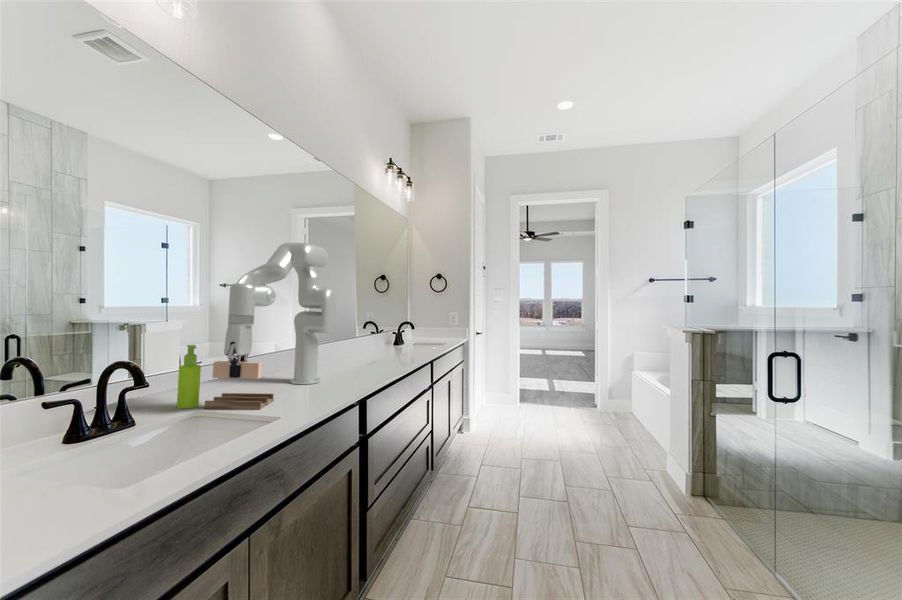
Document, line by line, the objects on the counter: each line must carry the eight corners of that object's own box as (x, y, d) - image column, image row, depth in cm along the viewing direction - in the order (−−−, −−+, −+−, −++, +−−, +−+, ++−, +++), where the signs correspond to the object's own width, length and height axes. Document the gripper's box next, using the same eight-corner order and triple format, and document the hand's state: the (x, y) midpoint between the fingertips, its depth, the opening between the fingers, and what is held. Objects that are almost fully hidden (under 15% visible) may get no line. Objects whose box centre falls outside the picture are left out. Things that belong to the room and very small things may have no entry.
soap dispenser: (178, 410, 119) (181, 346, 120) (175, 405, 125) (179, 344, 125) (200, 407, 123) (203, 345, 124) (197, 403, 128) (200, 343, 129)
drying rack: (222, 400, 134) (223, 393, 134) (273, 400, 135) (273, 393, 135) (204, 409, 122) (204, 401, 122) (260, 409, 123) (260, 401, 123)
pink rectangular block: (217, 376, 127) (218, 360, 127) (261, 376, 128) (262, 362, 128) (212, 377, 123) (213, 362, 123) (257, 378, 125) (258, 363, 125)
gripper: (240, 320, 134) (237, 372, 133) (216, 320, 118) (212, 380, 117) (262, 320, 135) (259, 373, 134) (241, 321, 119) (238, 381, 118)
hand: (237, 375), depth 126 cm, fingers closed on pink rectangular block, 3 cm apart
